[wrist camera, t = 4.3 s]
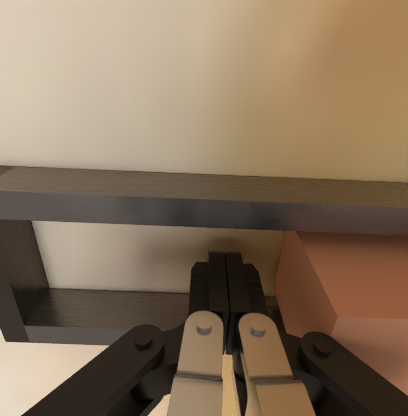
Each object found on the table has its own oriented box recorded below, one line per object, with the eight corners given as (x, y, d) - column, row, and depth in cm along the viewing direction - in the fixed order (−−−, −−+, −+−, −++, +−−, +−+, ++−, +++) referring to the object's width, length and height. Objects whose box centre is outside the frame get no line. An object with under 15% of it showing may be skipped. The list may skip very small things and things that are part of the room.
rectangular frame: (511, 187, 13) (572, 214, 11) (435, 318, 17) (469, 358, 15) (-12, 165, 13) (-57, 188, 11) (32, 303, 17) (5, 341, 15)
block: (455, 223, 14) (605, 327, 9) (419, 294, 16) (522, 412, 11) (288, 216, 14) (337, 316, 9) (273, 288, 16) (306, 404, 11)
